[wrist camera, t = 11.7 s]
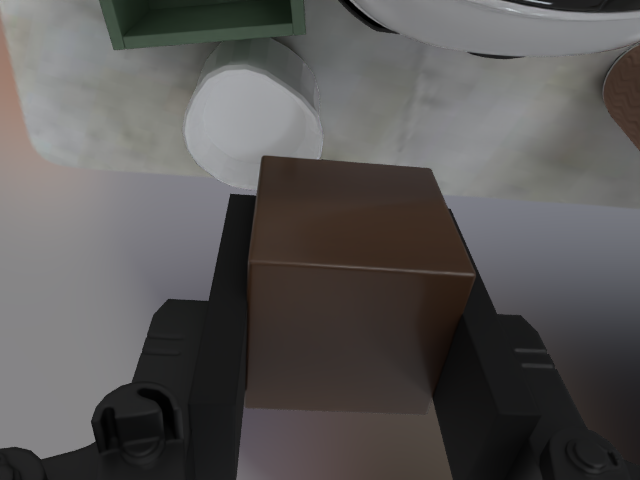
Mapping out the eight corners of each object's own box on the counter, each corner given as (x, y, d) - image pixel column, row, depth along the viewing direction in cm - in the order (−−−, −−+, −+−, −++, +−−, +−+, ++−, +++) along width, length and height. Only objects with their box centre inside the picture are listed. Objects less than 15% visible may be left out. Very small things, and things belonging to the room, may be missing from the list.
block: (261, 153, 13) (247, 260, 10) (431, 167, 14) (478, 274, 10) (255, 286, 16) (242, 410, 12) (399, 294, 16) (428, 416, 13)
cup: (196, 26, 42) (173, 63, 34) (321, 31, 43) (327, 69, 35) (205, 137, 47) (187, 191, 40) (316, 140, 48) (320, 195, 40)
